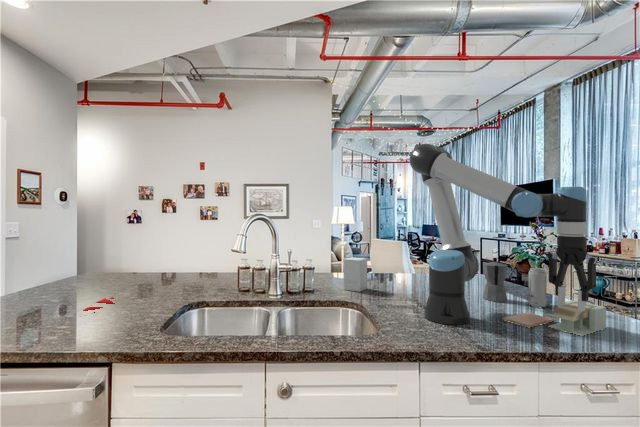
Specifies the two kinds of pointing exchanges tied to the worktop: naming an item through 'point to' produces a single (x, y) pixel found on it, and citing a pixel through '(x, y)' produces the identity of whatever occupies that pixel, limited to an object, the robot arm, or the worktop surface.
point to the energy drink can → (537, 287)
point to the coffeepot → (495, 281)
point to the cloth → (100, 302)
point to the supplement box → (355, 274)
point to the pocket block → (584, 321)
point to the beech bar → (571, 312)
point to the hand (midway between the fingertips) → (571, 308)
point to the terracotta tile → (528, 319)
